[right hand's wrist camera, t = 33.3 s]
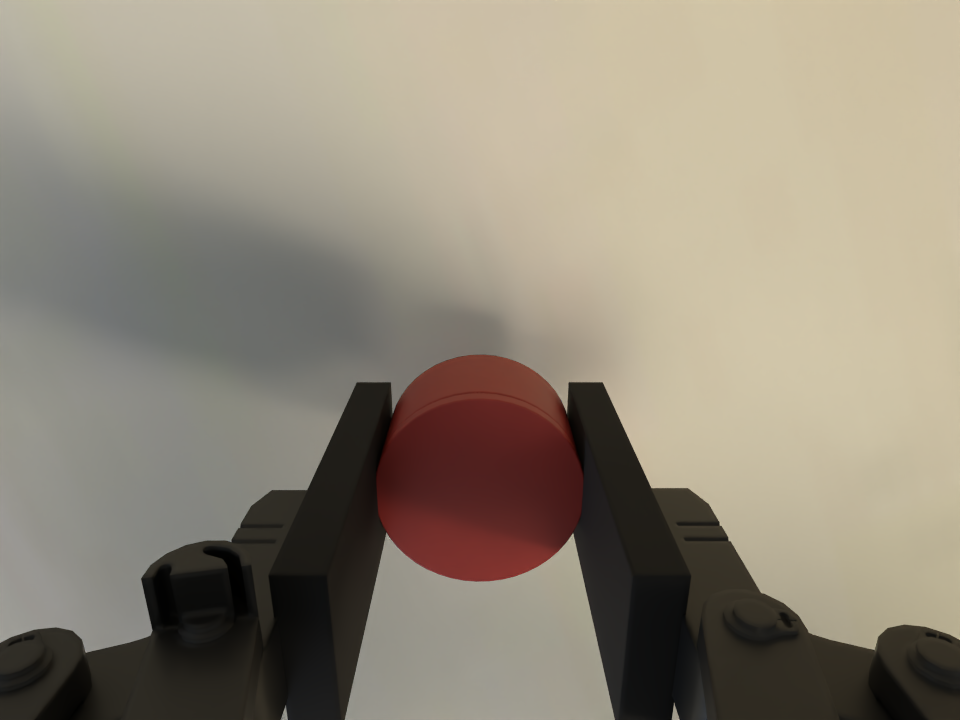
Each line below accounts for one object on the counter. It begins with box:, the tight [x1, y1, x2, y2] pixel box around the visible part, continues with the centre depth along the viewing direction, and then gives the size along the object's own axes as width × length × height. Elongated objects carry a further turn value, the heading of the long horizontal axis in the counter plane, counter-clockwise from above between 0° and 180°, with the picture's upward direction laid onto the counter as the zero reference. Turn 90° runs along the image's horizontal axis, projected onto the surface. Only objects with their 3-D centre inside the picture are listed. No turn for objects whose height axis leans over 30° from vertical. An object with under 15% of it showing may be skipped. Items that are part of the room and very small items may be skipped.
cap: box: [376, 355, 584, 581], centre depth 14 cm, size 4×4×2 cm
